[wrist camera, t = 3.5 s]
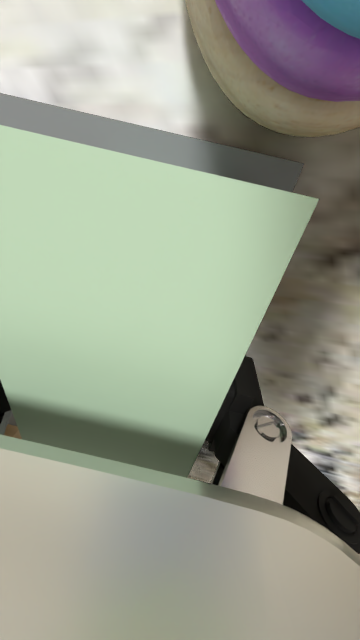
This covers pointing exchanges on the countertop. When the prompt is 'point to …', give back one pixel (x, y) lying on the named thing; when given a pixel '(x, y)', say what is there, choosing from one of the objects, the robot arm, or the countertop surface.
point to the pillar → (12, 431)
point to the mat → (148, 145)
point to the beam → (130, 295)
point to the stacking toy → (285, 60)
